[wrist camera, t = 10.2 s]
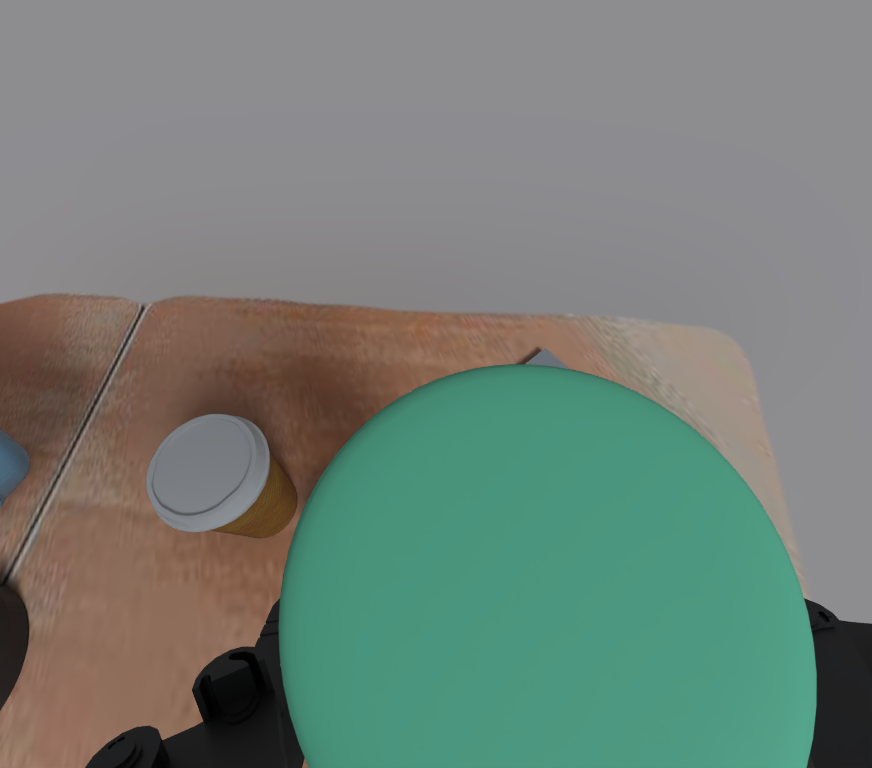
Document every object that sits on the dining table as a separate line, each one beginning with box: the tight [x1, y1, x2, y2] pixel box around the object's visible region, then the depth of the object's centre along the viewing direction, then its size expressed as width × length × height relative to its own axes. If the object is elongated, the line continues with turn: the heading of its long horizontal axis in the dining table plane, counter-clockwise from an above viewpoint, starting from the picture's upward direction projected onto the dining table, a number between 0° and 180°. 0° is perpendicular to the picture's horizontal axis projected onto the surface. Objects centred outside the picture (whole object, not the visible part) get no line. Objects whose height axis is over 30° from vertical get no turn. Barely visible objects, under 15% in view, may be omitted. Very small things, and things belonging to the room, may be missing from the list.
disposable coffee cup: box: [146, 414, 297, 538], centre depth 41 cm, size 10×10×12 cm
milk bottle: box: [279, 364, 817, 768], centre depth 13 cm, size 8×8×20 cm
